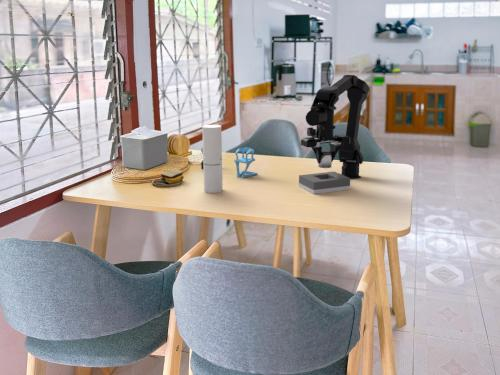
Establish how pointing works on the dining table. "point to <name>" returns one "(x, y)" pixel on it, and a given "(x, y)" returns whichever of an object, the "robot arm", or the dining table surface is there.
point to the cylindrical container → (212, 158)
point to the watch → (202, 160)
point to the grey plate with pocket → (324, 182)
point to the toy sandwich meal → (169, 178)
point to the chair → (244, 160)
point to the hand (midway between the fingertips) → (325, 162)
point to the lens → (325, 159)
